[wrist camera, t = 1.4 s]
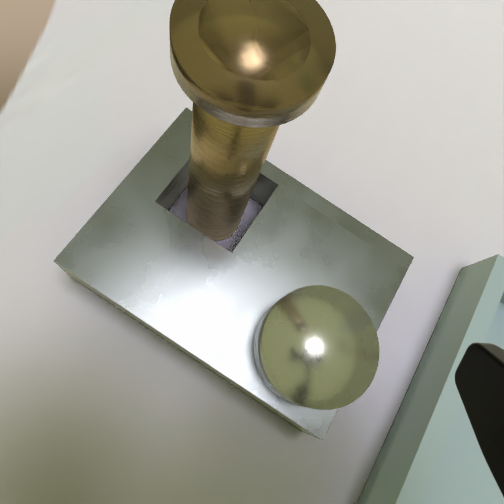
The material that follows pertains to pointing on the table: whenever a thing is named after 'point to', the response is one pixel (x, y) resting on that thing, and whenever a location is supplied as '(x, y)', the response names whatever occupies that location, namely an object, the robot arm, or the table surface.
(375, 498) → the tray
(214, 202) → the pin
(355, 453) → the table surface
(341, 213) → the bracket
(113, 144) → the table surface
